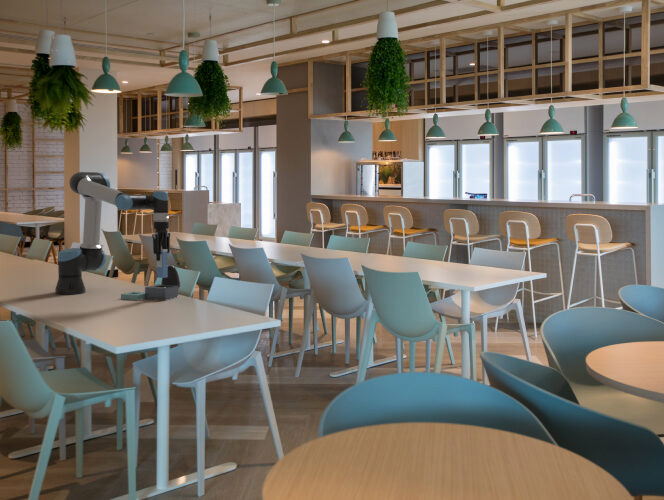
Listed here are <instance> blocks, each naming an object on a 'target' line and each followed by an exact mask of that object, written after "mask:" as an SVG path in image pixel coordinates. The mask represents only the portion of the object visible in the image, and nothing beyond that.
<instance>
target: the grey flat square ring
mask: <svg viewBox="0 0 664 500" xmlns="http://www.w3.org/2000/svg"><path fill="white" fill-rule="evenodd" d="M120 299H121V300H132V301H140V300H144V299H145V291H144V292H143V291H130V292H125V293H121V294H120Z"/></svg>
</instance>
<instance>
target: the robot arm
mask: <svg viewBox="0 0 664 500" xmlns="http://www.w3.org/2000/svg"><path fill="white" fill-rule="evenodd" d="M68 183H69V188H70V189H71V191H72V192H74V193H75V194H77V195H81V196H82V197H83V199H84V213H83V215H84V219H83V232H82V233H83V234H82V236H83V237H82V243H81V244H80V245H79V247H78V248H77V247H72V248H65V249H61V250H60V251H59V252H58V255H57V256H58V257H57V270H58V271H57V272H58V280H57V283H56V285H55V289H54V292H55V294H57V295H77V294H79V295H80V294H83V293H86V287H85V283H84V281H83V278H82V277H83V275H82V272H83V273H84V272H90V271H96V270H97V271H98V270H100V269H102V268H103V267H104V266H105V264H106V261H107V256H106V255H107V254H106V253H105V250H104V249H103V246H102V245H101V244H100V237H101V224H102V222H101V220H102V206H103V205H102V204H103V202H106V203H108V204H111V205H113V206H115V207H116V208H117V209H118V210H120V211H122V210H123V211H131V210H153V213H152V215H153V221H154V222H153V229H154V230H155V233H152V235H151V237H152V251H153V254H154V255H155V256H156V258H155V259H156V260H157V267H162V254H161V249H168V251H167V254H170V251H171V247H170V245H171V244H170V243H171V233H170V232H168V229H169V227H170V222H169V216H170V215H169V192H168V191H166V190H154V191H153V192H152V194H129V193H125V192H123V191H120V190H117V189H114V188H112V187H111V182H110V179H109V178H108V176H107V175H106V174H104V173H103V172H96V171H94V172H93V171H92V172H91V171H89V172H88V171H85V172H84V171H79V172H76V173H73V175H72V176H71V177H70V179H69V181H68ZM156 260H155V261H156Z"/></svg>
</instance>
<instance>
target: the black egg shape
mask: <svg viewBox="0 0 664 500" xmlns="http://www.w3.org/2000/svg"><path fill="white" fill-rule="evenodd" d="M167 266H168V277H165V278H161V281H160V284H162V285H177V286H178V292H179V291H180V288H181V281H180V276H179V273H178V270H177V268H176V267H175V265H167Z"/></svg>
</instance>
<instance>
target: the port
mask: <svg viewBox="0 0 664 500" xmlns="http://www.w3.org/2000/svg"><path fill="white" fill-rule="evenodd" d="M144 292H145V298H144V299H145V300H154V299H157V301H168V300H167V299H169V300H171V299H170V298H172V299H175V298H174V297H176V298H178V297H179V291H178V286H177V285H162V284H161V283H160V284H159V283H157V284H153V285H148V286H144ZM177 296H178V297H177Z"/></svg>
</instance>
